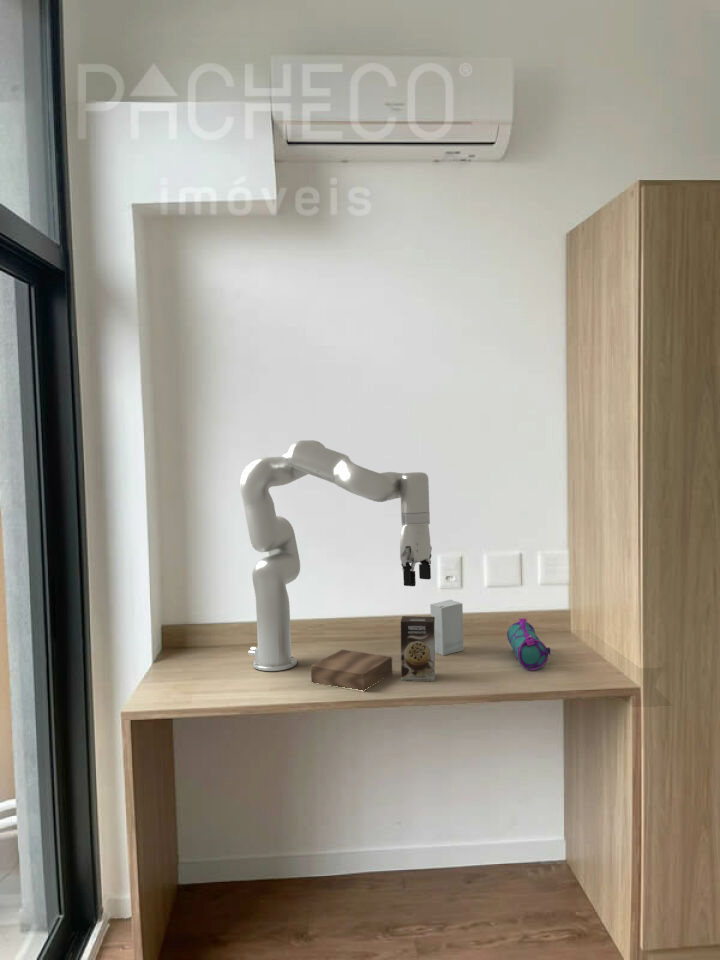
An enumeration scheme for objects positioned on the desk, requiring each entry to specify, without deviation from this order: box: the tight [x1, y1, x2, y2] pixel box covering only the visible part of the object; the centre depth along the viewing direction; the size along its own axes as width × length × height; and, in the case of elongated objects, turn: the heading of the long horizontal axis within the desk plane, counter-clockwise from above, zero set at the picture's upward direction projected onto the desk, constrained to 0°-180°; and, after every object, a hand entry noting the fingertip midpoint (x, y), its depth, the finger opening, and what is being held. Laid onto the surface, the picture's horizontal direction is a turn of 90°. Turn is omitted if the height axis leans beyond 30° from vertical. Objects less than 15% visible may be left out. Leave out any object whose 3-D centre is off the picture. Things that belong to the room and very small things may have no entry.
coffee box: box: [400, 615, 436, 682], centre depth 190 cm, size 9×6×16 cm
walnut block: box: [310, 649, 393, 691], centre depth 191 cm, size 16×16×5 cm
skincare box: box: [430, 599, 464, 656], centre depth 213 cm, size 8×6×15 cm
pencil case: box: [506, 618, 552, 672], centre depth 203 cm, size 21×9×10 cm, turn 177°
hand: (417, 582), depth 189 cm, fingers open, 9 cm apart
